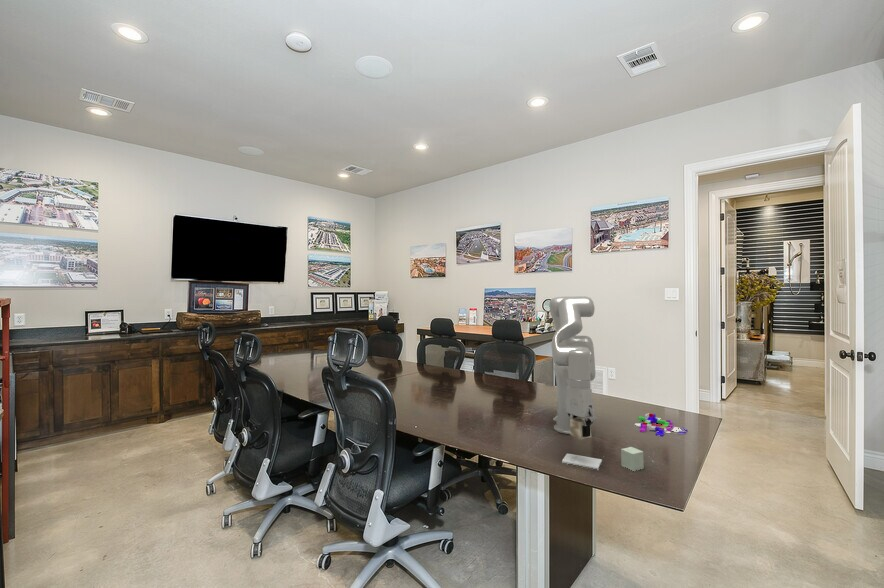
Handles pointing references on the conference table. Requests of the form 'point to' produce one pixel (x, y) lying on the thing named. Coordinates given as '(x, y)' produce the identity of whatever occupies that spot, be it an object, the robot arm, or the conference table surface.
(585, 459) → the external hard drive
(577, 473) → the conference table surface
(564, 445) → the conference table surface
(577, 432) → the birch block
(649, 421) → the building block set
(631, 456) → the sage block
